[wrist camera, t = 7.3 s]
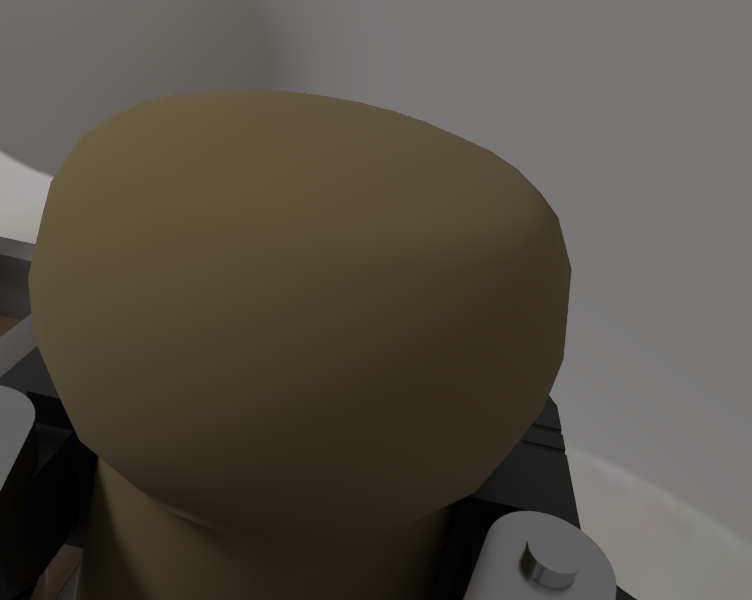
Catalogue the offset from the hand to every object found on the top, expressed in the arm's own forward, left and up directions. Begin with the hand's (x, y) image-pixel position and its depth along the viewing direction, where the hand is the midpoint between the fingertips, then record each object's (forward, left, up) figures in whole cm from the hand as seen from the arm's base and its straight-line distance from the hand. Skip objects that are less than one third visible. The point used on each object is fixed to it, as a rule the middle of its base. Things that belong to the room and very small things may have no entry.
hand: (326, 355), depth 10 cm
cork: (0, -3, -7) cm, 7 cm away
